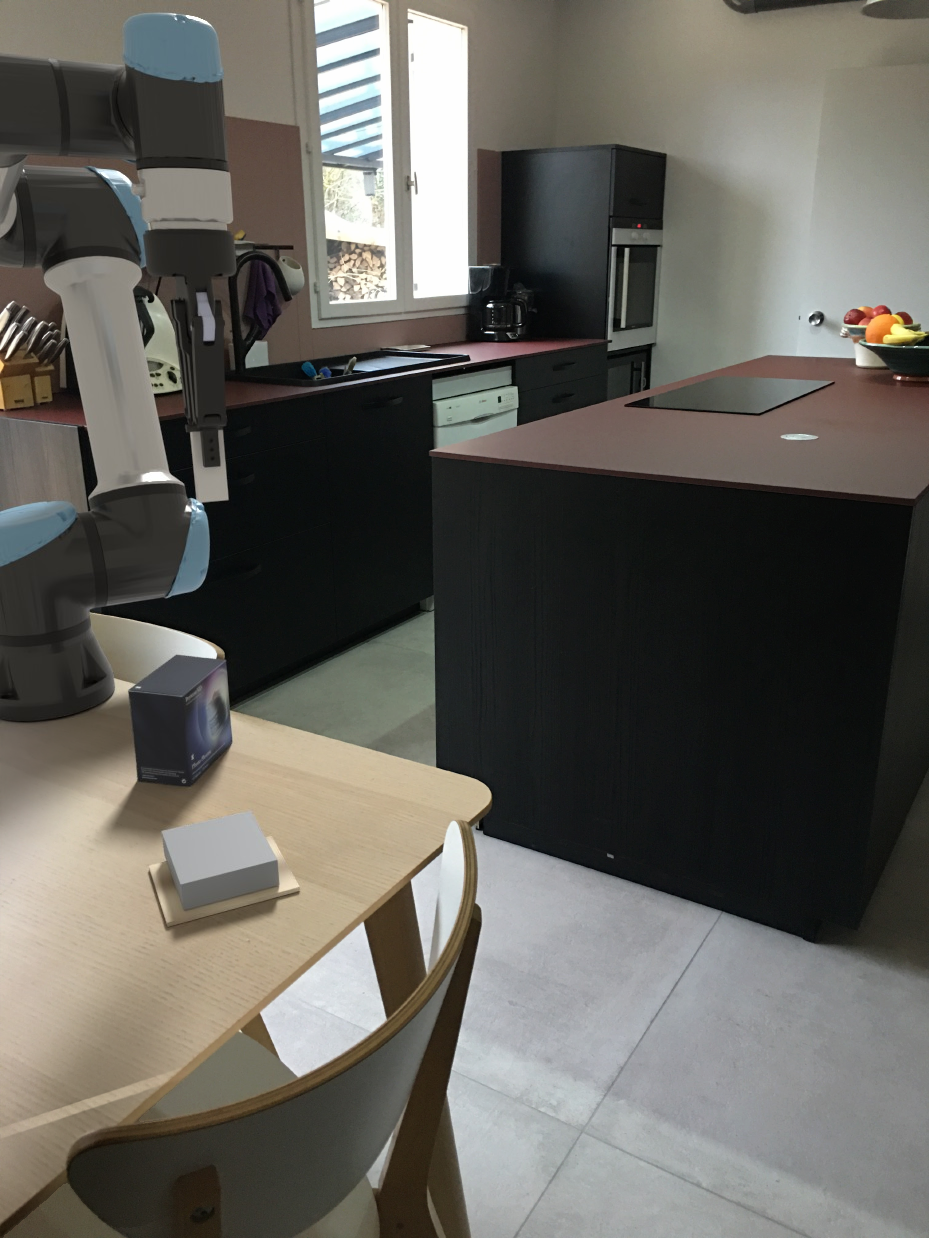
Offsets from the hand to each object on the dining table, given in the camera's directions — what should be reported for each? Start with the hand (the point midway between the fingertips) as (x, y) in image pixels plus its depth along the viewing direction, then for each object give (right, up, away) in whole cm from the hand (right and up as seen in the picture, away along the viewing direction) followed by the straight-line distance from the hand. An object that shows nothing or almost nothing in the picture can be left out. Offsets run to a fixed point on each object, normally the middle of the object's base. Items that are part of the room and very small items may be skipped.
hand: (212, 499), depth 91 cm
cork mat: (+3, -34, -7) cm, 35 cm away
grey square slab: (0, -31, -3) cm, 31 cm away
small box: (-6, -27, +14) cm, 31 cm away
